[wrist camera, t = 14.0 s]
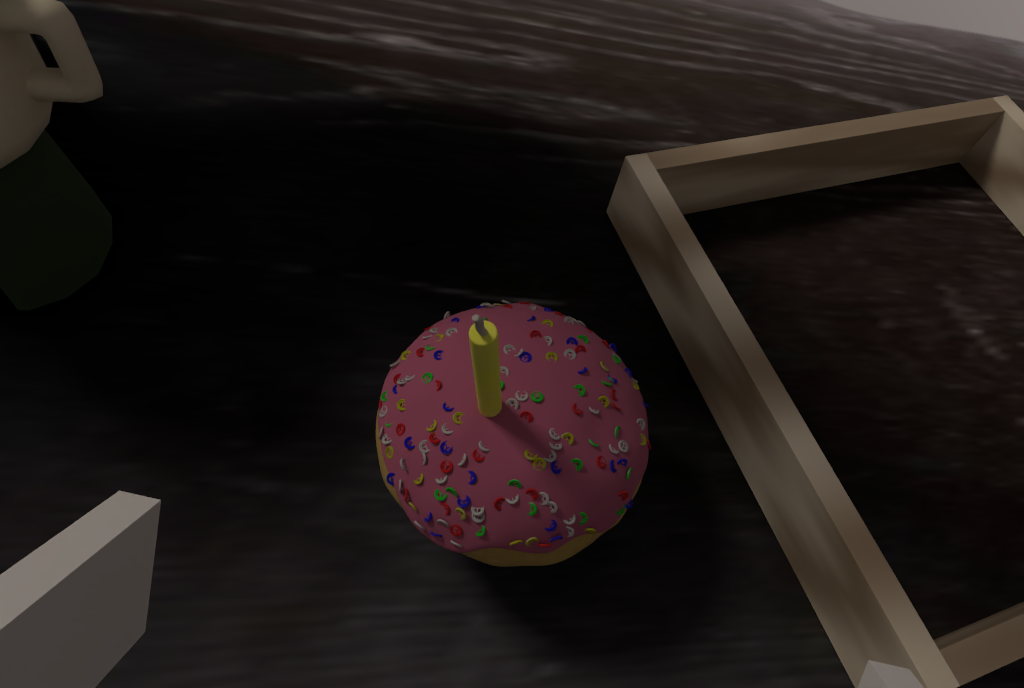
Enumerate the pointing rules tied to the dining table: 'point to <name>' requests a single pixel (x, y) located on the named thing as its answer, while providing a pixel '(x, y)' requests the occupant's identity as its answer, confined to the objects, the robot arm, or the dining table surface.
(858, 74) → the dining table surface
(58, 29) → the character mug
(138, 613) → the robot arm
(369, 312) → the dining table surface
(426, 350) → the cupcake
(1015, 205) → the birch box
